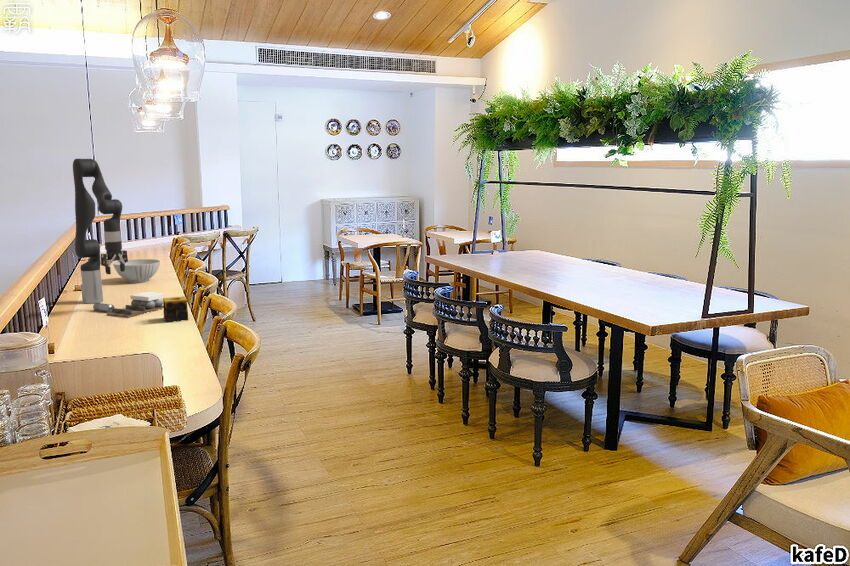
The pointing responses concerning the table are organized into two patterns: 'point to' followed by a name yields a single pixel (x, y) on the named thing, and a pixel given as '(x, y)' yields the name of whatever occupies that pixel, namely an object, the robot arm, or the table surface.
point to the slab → (147, 296)
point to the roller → (103, 307)
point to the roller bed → (137, 308)
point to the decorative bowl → (138, 270)
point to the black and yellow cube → (175, 309)
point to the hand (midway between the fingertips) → (115, 272)
